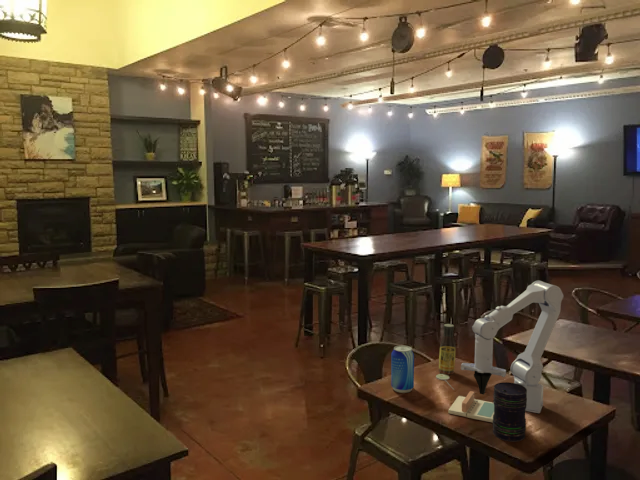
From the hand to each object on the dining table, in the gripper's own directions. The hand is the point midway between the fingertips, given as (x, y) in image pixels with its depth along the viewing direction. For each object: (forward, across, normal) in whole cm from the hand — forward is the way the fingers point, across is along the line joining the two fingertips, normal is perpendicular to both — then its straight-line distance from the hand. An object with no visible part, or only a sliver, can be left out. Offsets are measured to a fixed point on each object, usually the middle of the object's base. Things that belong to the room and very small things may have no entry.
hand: (482, 393), depth 190 cm
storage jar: (+7, +11, -12) cm, 18 cm away
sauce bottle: (+7, -21, +30) cm, 37 cm away
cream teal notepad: (+7, +1, 0) cm, 7 cm away
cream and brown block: (+7, -7, 0) cm, 9 cm away
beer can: (+7, -31, +6) cm, 32 cm away
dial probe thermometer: (+7, -18, +20) cm, 28 cm away
